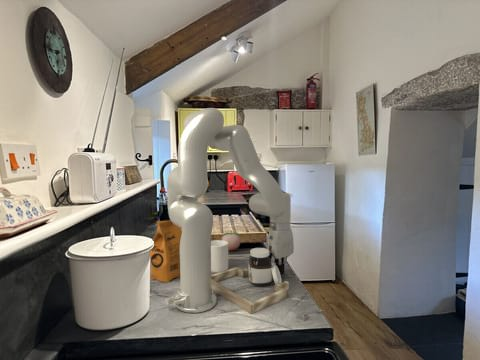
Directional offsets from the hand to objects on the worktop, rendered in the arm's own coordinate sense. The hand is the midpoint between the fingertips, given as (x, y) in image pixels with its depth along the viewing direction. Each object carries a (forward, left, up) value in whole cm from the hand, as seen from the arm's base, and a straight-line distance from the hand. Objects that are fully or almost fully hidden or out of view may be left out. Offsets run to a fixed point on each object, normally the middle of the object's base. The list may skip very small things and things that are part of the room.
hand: (279, 273), depth 109 cm
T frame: (-15, 0, -1) cm, 16 cm away
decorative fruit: (+4, +35, -1) cm, 35 cm away
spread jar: (-8, 0, -2) cm, 8 cm away
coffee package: (-32, +28, -1) cm, 43 cm away
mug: (-12, +22, -1) cm, 25 cm away
